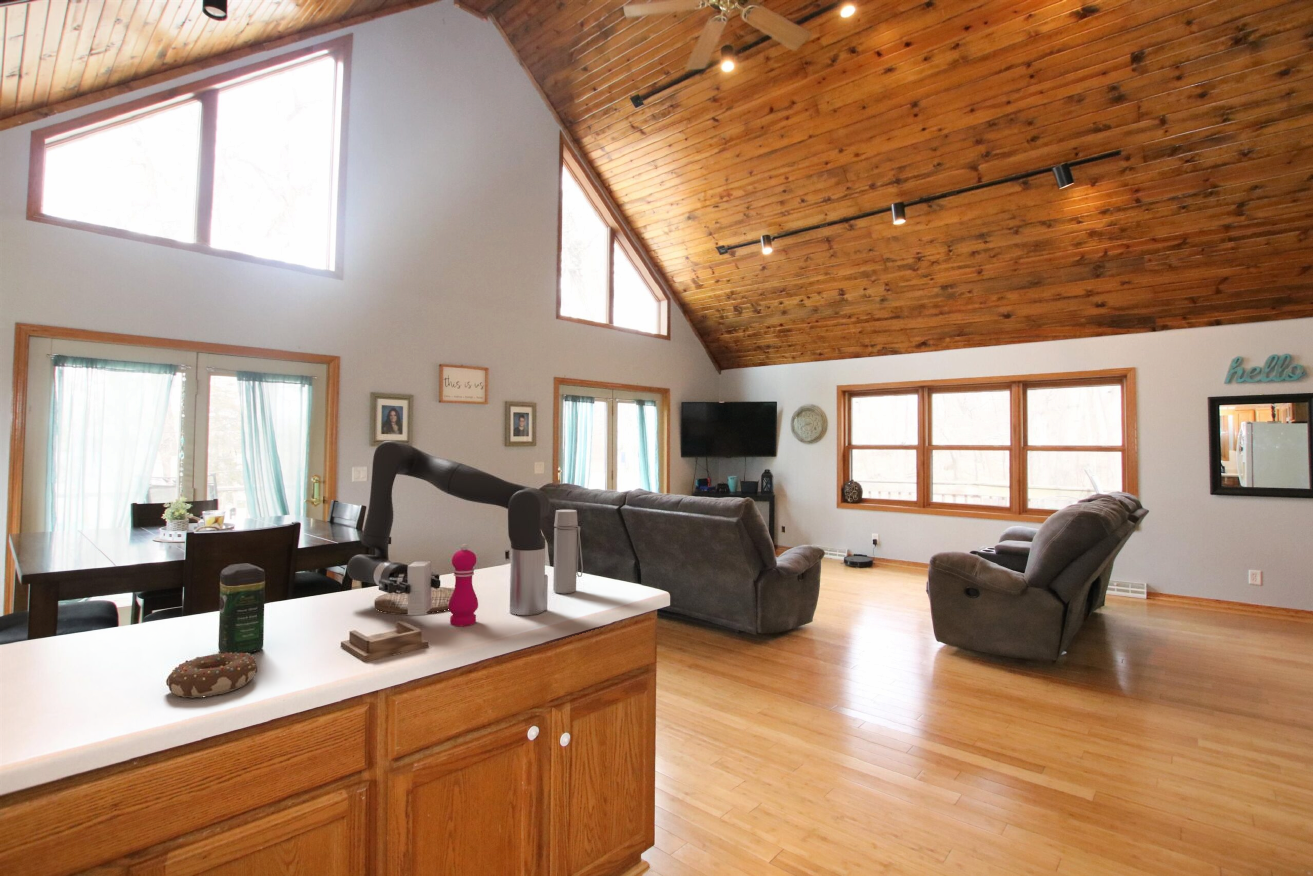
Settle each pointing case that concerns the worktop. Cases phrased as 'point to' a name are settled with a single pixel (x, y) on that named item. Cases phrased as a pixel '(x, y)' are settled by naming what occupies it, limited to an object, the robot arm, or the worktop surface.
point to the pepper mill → (463, 589)
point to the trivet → (400, 601)
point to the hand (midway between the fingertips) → (424, 586)
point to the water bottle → (566, 551)
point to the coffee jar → (241, 609)
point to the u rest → (385, 642)
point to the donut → (212, 674)
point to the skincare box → (419, 587)
